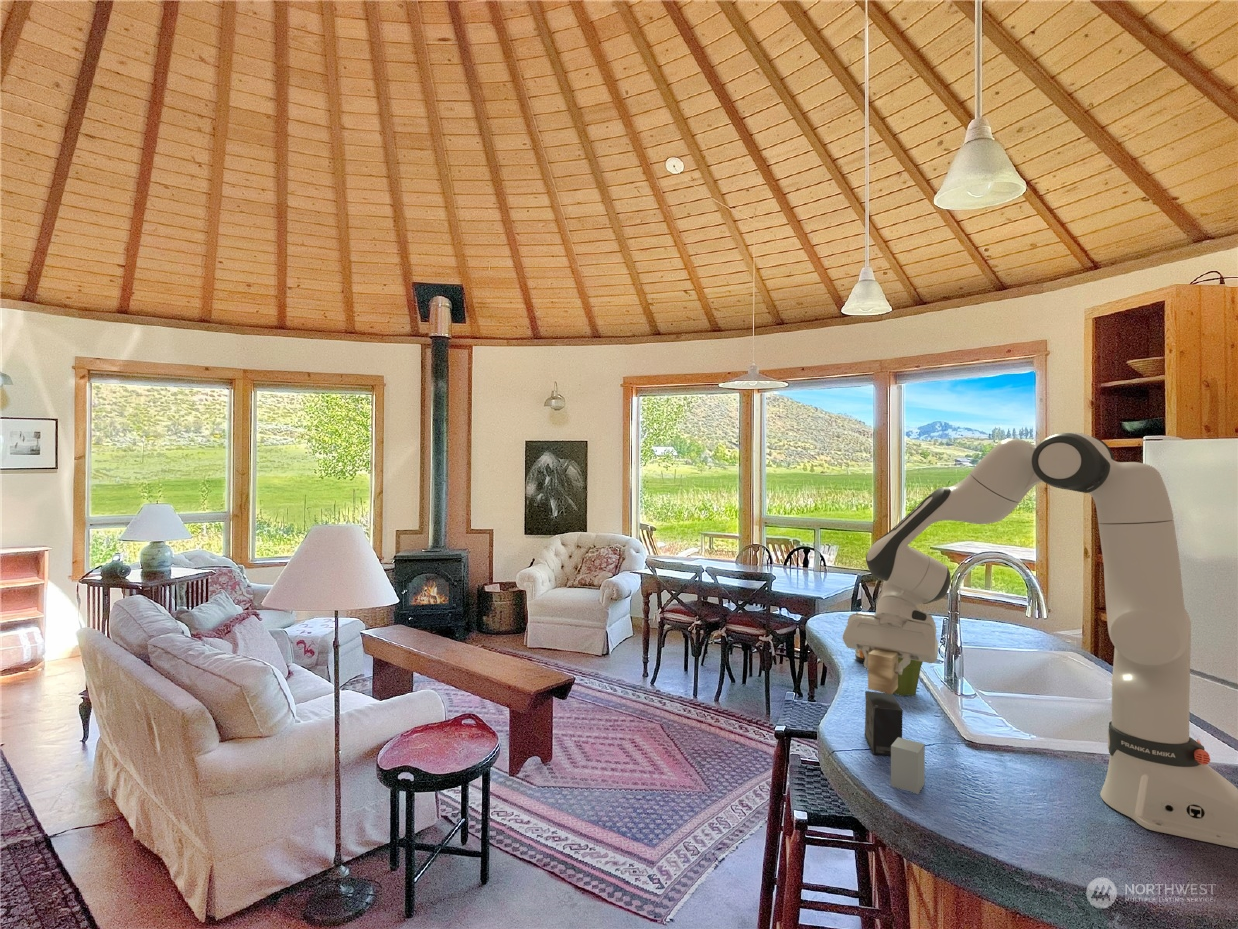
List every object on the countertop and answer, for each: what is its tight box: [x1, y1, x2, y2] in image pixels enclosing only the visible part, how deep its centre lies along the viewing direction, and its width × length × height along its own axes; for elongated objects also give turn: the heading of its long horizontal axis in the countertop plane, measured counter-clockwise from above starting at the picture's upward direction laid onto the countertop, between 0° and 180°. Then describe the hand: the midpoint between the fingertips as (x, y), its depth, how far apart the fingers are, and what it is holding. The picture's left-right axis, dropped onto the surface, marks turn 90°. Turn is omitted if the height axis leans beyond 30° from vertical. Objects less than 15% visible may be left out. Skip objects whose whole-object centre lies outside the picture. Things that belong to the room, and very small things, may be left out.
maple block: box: [867, 648, 898, 694], centre depth 143 cm, size 5×5×8 cm
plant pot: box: [892, 657, 924, 697], centre depth 176 cm, size 12×12×11 cm
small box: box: [864, 690, 904, 757], centre depth 143 cm, size 11×6×10 cm, turn 168°
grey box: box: [890, 737, 926, 795], centre depth 126 cm, size 5×5×8 cm
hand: (882, 670), depth 142 cm, fingers closed on maple block, 5 cm apart
